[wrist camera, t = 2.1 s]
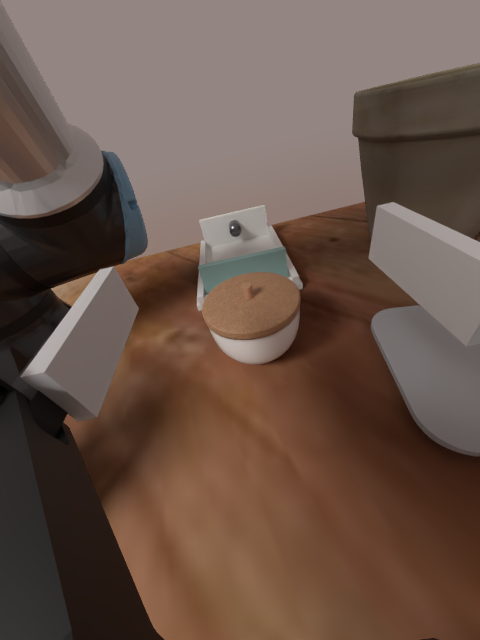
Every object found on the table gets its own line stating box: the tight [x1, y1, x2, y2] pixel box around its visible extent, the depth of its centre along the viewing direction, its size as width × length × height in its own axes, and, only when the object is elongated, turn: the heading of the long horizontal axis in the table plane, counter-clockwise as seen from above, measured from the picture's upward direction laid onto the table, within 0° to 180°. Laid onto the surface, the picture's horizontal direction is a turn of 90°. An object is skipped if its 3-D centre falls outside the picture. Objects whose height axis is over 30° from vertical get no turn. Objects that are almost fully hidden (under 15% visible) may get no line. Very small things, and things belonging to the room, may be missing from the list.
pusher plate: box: [198, 246, 288, 295], centre depth 38 cm, size 1×13×5 cm, turn 95°
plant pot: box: [352, 63, 480, 239], centre depth 36 cm, size 25×25×22 cm
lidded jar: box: [202, 272, 301, 365], centre depth 28 cm, size 11×11×9 cm
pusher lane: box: [197, 205, 303, 311], centre depth 45 cm, size 22×17×7 cm
